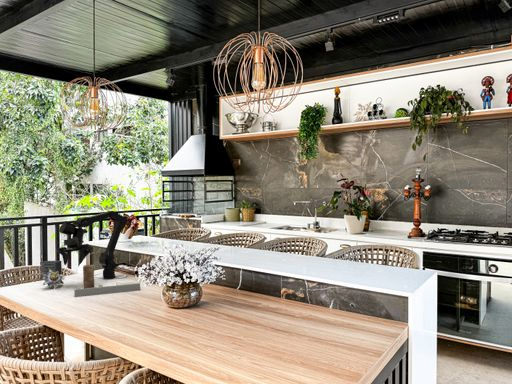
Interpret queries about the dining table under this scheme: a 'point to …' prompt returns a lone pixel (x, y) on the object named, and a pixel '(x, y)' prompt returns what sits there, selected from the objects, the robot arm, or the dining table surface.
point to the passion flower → (52, 279)
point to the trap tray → (107, 289)
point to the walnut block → (88, 276)
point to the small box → (51, 267)
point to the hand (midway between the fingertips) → (72, 264)
